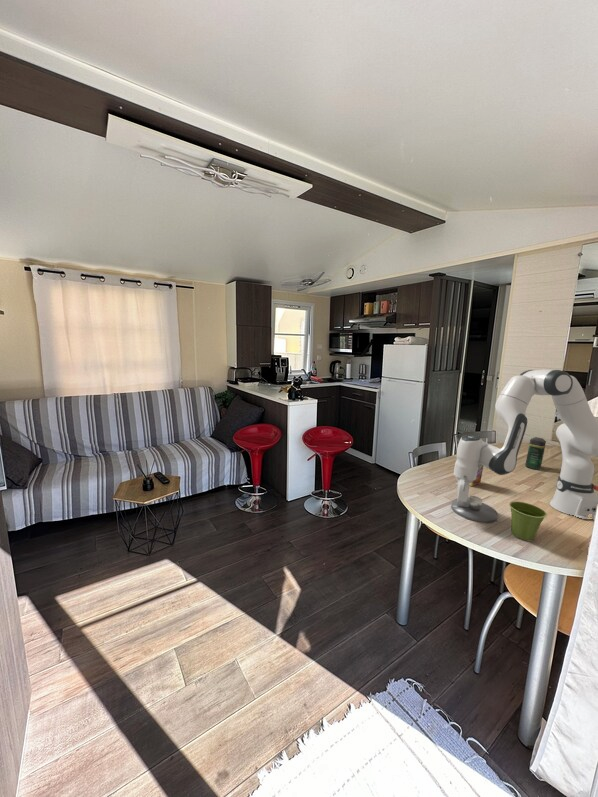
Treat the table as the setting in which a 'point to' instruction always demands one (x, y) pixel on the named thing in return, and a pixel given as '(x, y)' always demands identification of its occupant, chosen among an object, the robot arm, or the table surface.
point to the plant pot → (525, 520)
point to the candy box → (479, 475)
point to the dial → (472, 503)
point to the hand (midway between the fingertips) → (460, 502)
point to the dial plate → (476, 513)
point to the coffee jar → (535, 453)
